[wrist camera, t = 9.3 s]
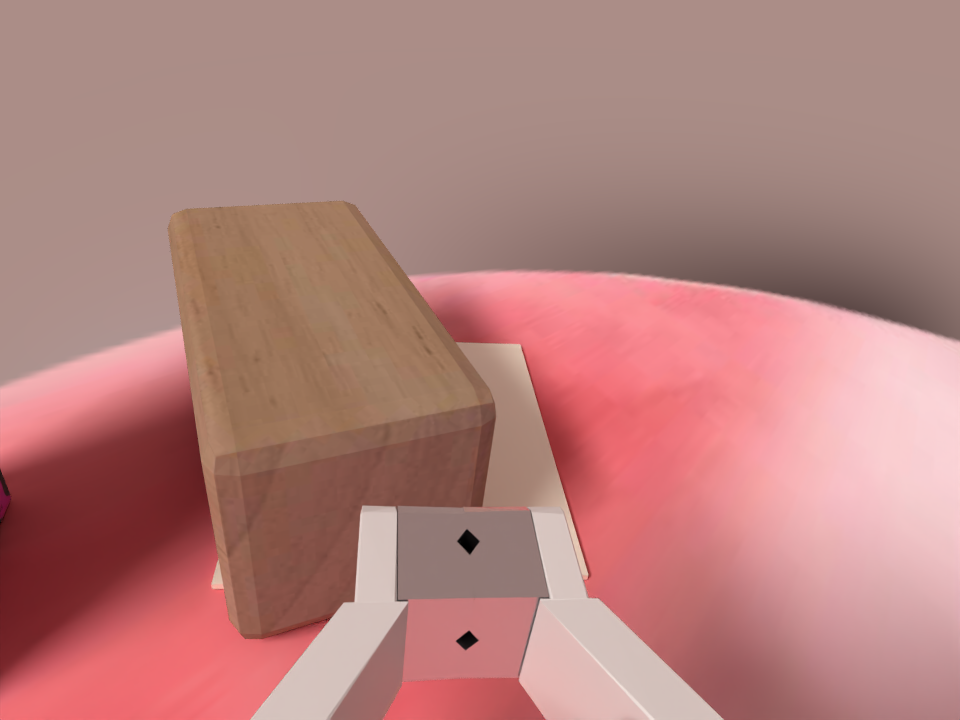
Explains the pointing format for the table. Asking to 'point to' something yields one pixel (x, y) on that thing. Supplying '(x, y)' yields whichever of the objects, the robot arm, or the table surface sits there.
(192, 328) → the block
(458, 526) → the robot arm
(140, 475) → the table surface
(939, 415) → the table surface
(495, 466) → the placemat
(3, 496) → the candy bar box
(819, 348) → the table surface
